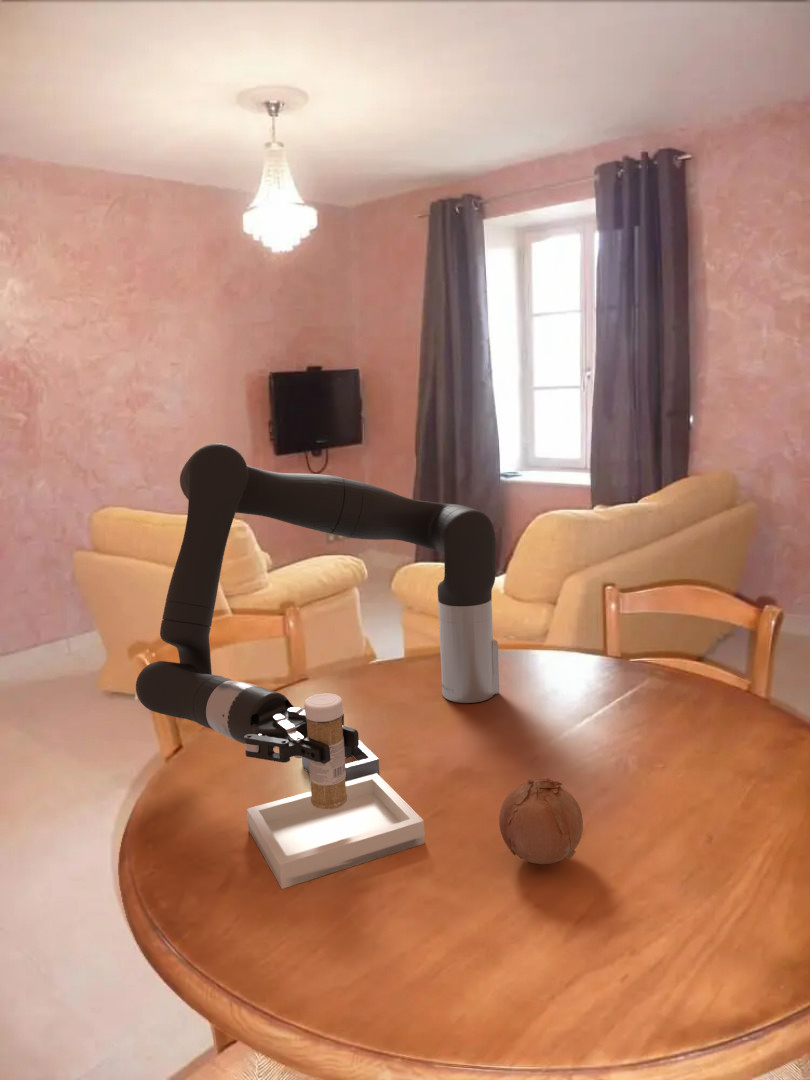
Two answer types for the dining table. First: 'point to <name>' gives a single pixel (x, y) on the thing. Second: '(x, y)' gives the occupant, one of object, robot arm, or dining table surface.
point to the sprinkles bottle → (328, 729)
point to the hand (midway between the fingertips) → (342, 747)
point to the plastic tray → (333, 831)
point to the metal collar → (357, 769)
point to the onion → (541, 822)
